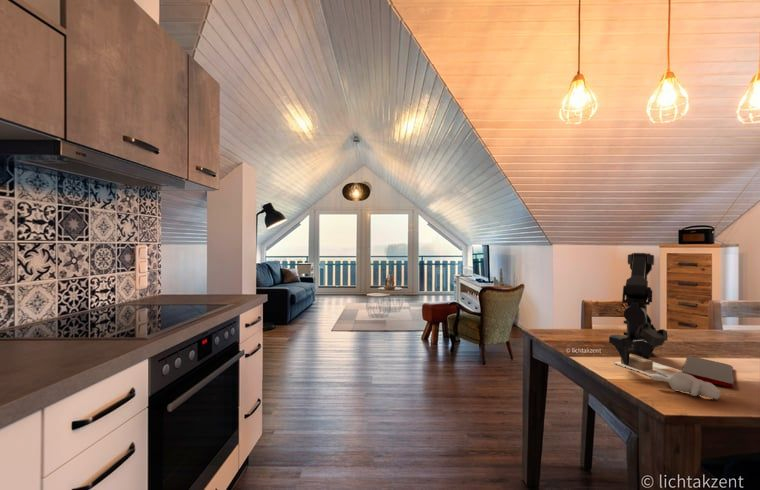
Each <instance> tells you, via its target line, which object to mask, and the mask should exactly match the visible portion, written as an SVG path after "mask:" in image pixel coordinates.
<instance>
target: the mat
mask: <svg viewBox="0 0 760 490" xmlns="http://www.w3.org/2000/svg"><path fill="white" fill-rule="evenodd" d="M613 364H614V365H616V364H617V365H616V366H618V365H620V366H619V367H621V366H624V367H627V368H630V369H633V370H636V371H639V372H642V373H644V374H647V375H650V376H651V374H655V375H659V374H657V370H662V371H664V372H666V373H668V374H670V375H671V374H672V373H677V372H683V371H682V369H681V370H679V369H677V368H674V367H671V366H668V365H664V364H661V363H659V362H655V361H653V370H647V371H641V370H638V369H636V368H633V367H630V366H627V365H624V364H621V361H614V362H613ZM624 367H623V368H624ZM627 368H626V369H627ZM630 369H629V370H630ZM644 374H643V375H644ZM659 376H662V375H659ZM663 377H665V376H663Z"/></svg>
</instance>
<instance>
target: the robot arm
mask: <svg viewBox="0 0 760 490" xmlns="http://www.w3.org/2000/svg"><path fill="white" fill-rule="evenodd" d="M627 265H629V269H630V270H631V272H630V273H631V274H630V277H629V278H627V279H626V281H625V285H623V287H622V301H621V302H622V304H626V308H625V309H624V312H623V316H624V320H623V324H624V325H625V324H626V331H623V335H622V334H619V333H618V334H611V335H610V336H609V337H608V343H609V344H611V345H612V346H614V348H615V349H616V351H617V352H618V354H619V355H620V356H619V357H620V359H621V358H622V360H623V362H624V364H625V365H628V364H629V355H630V354H634V355H637V356H640V357H641V356H642V358H645V359H648V360H651V356H654V355H655V353H654V350H655V348H658V347H659V346H663V345H664V344H665V342H666V341H668V339H669V338H668V337H669V336H668V335H669V334H668V331H667V330H665V329H663V328H662V329H658V330H657V329H656V327H655V326H654V324H652V322H653V321H652V318H651V317H650V316H649V314H648V312H647V311H648V306H650V304H651V303H653V289H652V288H651V286H649V281H648V275H649V274H650V273H651V271H652V270H653V266H654V265H655V255H654V254H651V253H648V252H647V253H646V252H633V253H632V252H631V254H627Z"/></svg>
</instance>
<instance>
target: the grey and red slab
mask: <svg viewBox="0 0 760 490" xmlns="http://www.w3.org/2000/svg"><path fill="white" fill-rule="evenodd" d="M684 361H685V362H684V364H683V367H682V369H681V371H683V372H682V373H686V374H689V375H692V376H693V377H695V378H696V379H699V380H702V381H704V382H709V383H712V384H713V385H714V384H715V385H719V386H722V387H728V388H729V387H730V388H733V387H734V383H735V380H734V377H733V374H734V366H733V365H730V364H728V363H724V362H721V361H720V362H719V361H714V360H710V359H705V358H701V357H696V356H690V355H688V356H686V359H685V360H684Z"/></svg>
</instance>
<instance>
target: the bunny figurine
mask: <svg viewBox="0 0 760 490" xmlns="http://www.w3.org/2000/svg"><path fill="white" fill-rule="evenodd" d="M657 374H659V375H662V376H659V375H655V374H651V377H650V379H652V380H655V381H658V382H665V383H666V382H667V383H668V385H669V386H670V387H671V390H673V389H675V390H679V391H683V392H689V393H691V394H690V396H694V397H698V396H697V395H701V396H705V397H709V398H714V399H713V400H717V401H718V400H719V398H720V397H721V396H722V390H720V389H718V387H716V385H714V383H710V382H706V381H702V380H699V379H696V378H695V377H693V376H692V375H689V374H686V373H682V372H677V373H672V374H671V375H670V374H668V373H666V372H664V371H662V370H657ZM663 376H665V377H663Z"/></svg>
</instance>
